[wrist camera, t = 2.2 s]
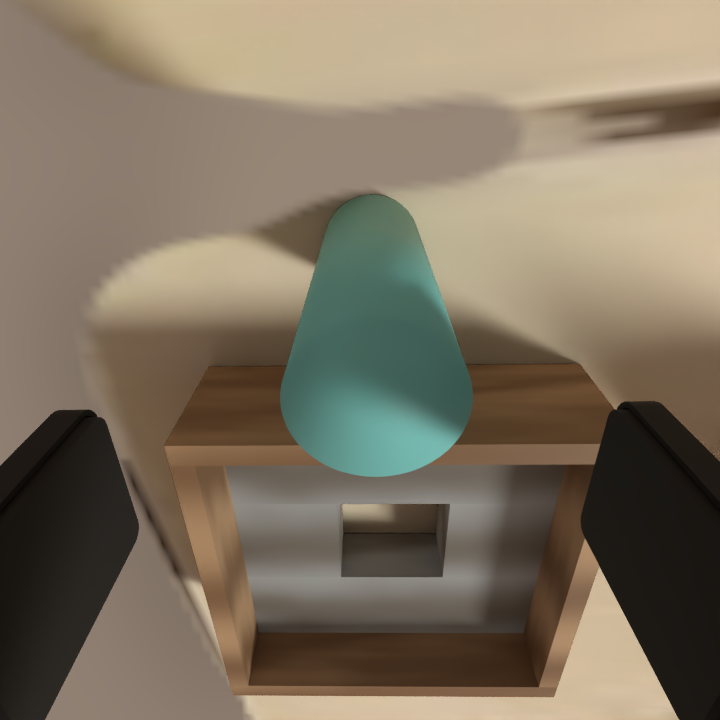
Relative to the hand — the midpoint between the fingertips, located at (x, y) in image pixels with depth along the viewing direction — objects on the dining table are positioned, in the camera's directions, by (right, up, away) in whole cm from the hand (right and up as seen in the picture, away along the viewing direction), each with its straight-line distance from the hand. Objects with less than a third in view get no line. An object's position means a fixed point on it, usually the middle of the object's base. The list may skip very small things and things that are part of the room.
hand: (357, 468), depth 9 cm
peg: (+1, +7, +11) cm, 13 cm away
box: (+2, -6, +19) cm, 20 cm away
